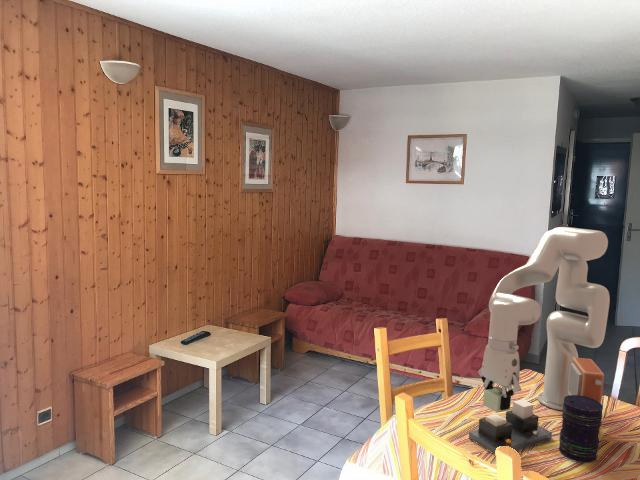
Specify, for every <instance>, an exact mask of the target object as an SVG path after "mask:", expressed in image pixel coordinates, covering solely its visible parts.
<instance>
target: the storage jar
mask: <svg viewBox="0 0 640 480" xmlns="http://www.w3.org/2000/svg"><path fill="white" fill-rule="evenodd" d="M603 407H604V405H603V404H602V402H601V403H600V402H598V401H596V400H594V399H592V398H589V397H585V396H579V395H569V396H566V397H565V398H564V404H563V409H562V410H561V411H562V414H561V419H562V424H561V429H560V432H559V439H558V440H559V444H558V445H559V446H558V451H559V453H560V454H561V455H562V456H564V457H565V458H567V459H569V460H571V461H574V462H578V463H583V464H585V463H586V464H591V463H594V462H596V461H597V459H598V453H599V452H598V451H599V449H600V438H599V434H600V428H601V427H602V420H603V410H604V409H603Z"/></svg>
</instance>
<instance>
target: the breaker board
mask: <svg viewBox="0 0 640 480" xmlns="http://www.w3.org/2000/svg"><path fill="white" fill-rule="evenodd" d="M539 417H540V416H538V415H537V414H534V413H533V415H532V416H531V417H528V418H525V419H522V418H521V417H519V416H517V415H515V414H513V413H512V409H511V410H510V409H509V410H508V411H507V410H506V411H505V419H506V424H504V425H501V426H497V427H496V426H494V425H492V424H490V423H489V422H487V421H485V419H486V416H485V417H481V418H479V419H478V428H477V429H473V430H470V431H468V439H469V438H470V439H469V440H471V439H472V440H474V441H475V442H474V441H473V442H474V443H476V442H477V443H478V444H477V443H476V444H477V445H479V444H480V445H482V446H483V447H484V448H483V447H482V446H481V447H482V448H483V449H485V448H486V449H485V450H487V449H488V450H490V451H491V452H493V453H494V454H495V450H496V448H497V447H499V446H509V447H511V448H513V449H515V450H516V451H519V450H523V449H525V448H529V447H531V446H534V445H537V444H540V443H543V442H547V441H549V440H552V436H553V432H552V431H550V430H549V429H546V428H545V427H542V426H540V425H539ZM472 440H471V441H472ZM480 445H479V446H480ZM488 450H487V451H488ZM490 451H489V452H490ZM516 451H515V452H516ZM491 452H490V453H491ZM493 453H492V454H493ZM494 454H493V455H494Z"/></svg>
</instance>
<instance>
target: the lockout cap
mask: <svg viewBox="0 0 640 480" xmlns="http://www.w3.org/2000/svg"><path fill="white" fill-rule="evenodd" d="M493 387H494V388H493V389H489V390H483V399H482V401H483V403H482V405H483V406H485V407H486V408H488V409H490V410H491V411H493V412H495V413H500V412H504V411H507V410H508V411H509V410H510V409H511V407H510V408H509V409H506V410H500V405H501V396H503V392H502V386H501V387H500V386H493ZM511 403H512V398H511V399H510V405H512V404H511Z"/></svg>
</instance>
